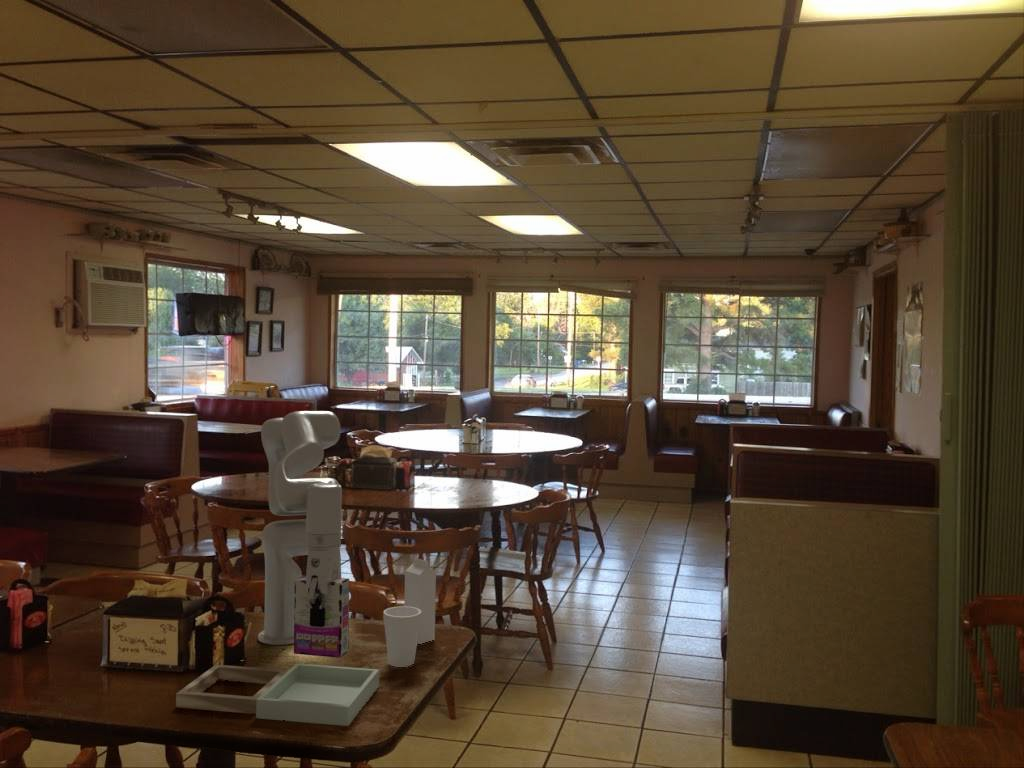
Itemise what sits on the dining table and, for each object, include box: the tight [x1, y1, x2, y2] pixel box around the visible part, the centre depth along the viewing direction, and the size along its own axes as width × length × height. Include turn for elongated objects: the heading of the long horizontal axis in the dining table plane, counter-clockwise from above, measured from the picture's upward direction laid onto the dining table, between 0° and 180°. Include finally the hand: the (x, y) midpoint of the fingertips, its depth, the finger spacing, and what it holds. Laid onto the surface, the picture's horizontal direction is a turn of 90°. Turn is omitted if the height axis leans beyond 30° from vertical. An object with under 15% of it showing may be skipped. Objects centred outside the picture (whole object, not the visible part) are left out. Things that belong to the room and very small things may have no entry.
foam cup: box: [382, 605, 421, 668], centre depth 219 cm, size 10×9×13 cm
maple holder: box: [175, 664, 290, 715], centre depth 197 cm, size 18×18×3 cm
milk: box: [403, 557, 437, 645], centre depth 237 cm, size 6×6×22 cm
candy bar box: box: [293, 575, 350, 659], centre depth 193 cm, size 11×5×16 cm, turn 78°
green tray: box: [255, 663, 380, 727], centre depth 194 cm, size 22×20×4 cm
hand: (322, 621), depth 193 cm, fingers closed on candy bar box, 5 cm apart
